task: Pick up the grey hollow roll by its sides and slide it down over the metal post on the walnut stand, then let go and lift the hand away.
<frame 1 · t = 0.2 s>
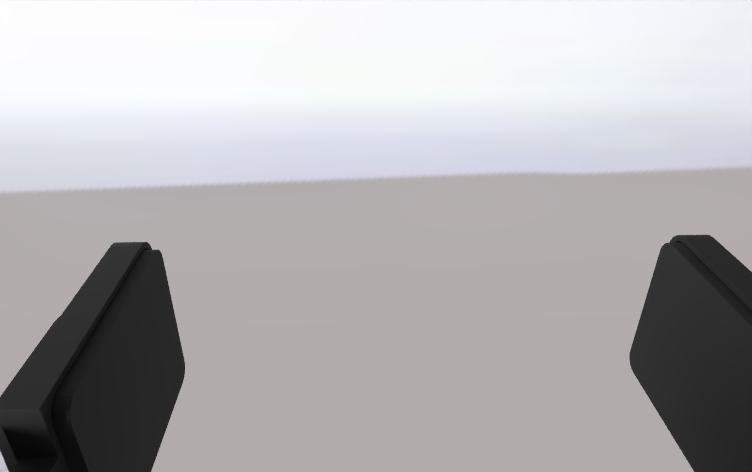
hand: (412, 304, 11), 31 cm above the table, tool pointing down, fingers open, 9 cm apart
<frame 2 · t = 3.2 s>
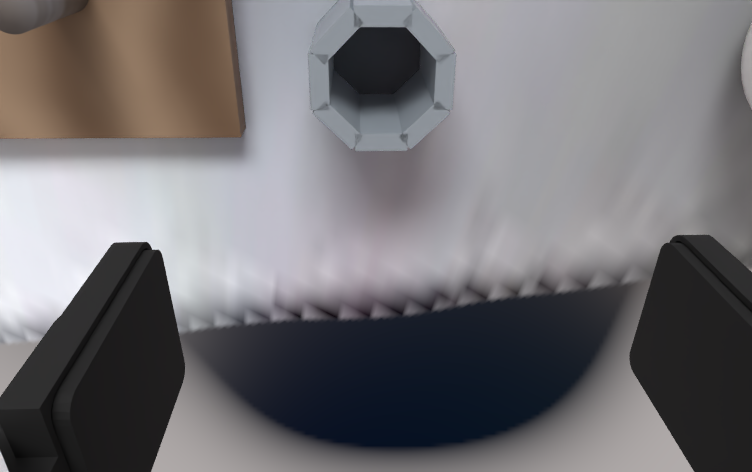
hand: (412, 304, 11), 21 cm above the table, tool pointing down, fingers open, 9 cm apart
roll: (376, 50, 29), on the table
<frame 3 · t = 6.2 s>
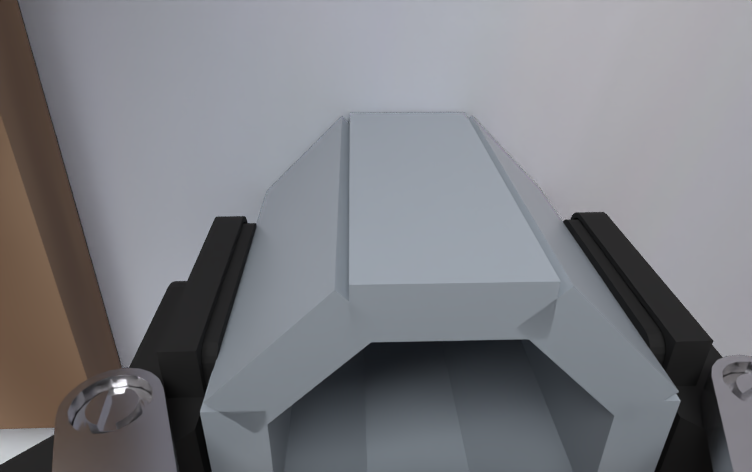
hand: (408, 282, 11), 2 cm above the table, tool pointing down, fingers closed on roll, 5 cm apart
roll: (402, 242, 13), on the table, touching gripper
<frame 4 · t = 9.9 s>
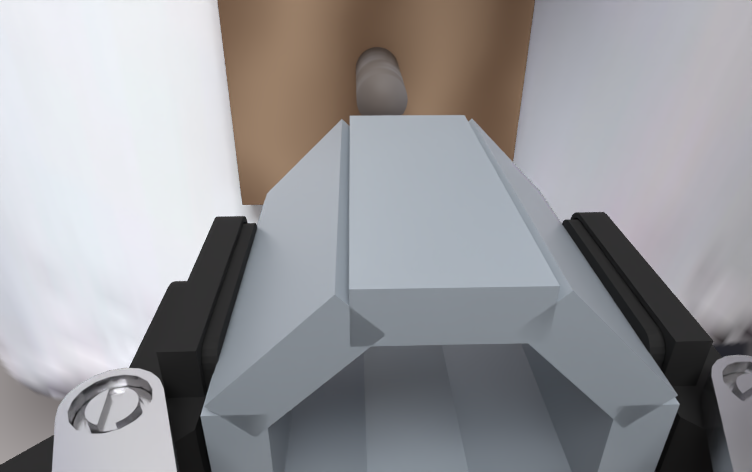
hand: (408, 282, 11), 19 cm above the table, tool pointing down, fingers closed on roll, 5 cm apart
roll stand: (375, 61, 28), on the table
roll: (402, 244, 13), point 17 cm above the table, touching gripper
when the fingers open (4 cm above the table, at t = 13.4 s): roll stays where it is, resting on roll stand.
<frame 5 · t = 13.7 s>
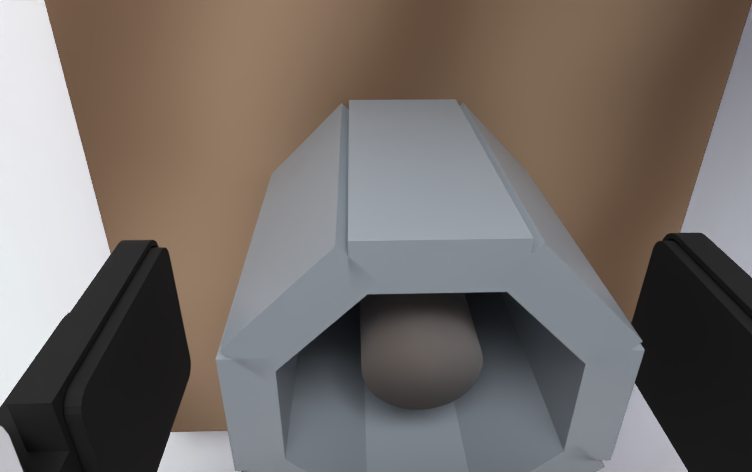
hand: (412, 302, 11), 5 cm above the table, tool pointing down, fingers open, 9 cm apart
roll stand: (395, 194, 15), on the table
roll: (399, 222, 14), point 1 cm above the table, touching roll stand
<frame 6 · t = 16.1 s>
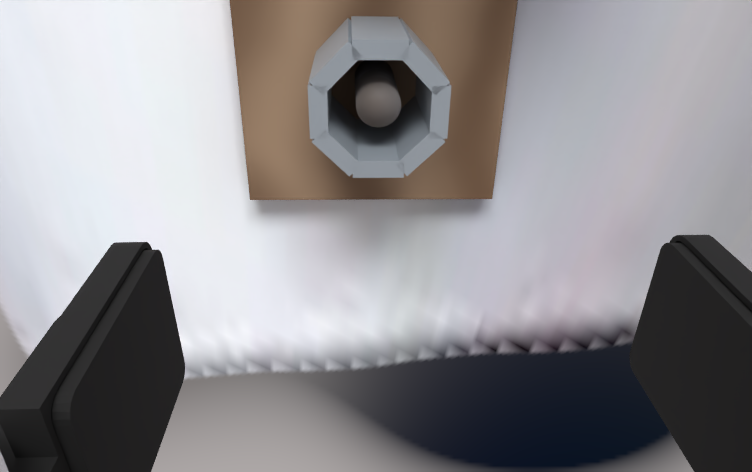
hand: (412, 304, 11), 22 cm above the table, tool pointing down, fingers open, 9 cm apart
roll stand: (372, 70, 31), on the table
roll: (373, 77, 29), point 1 cm above the table, touching roll stand
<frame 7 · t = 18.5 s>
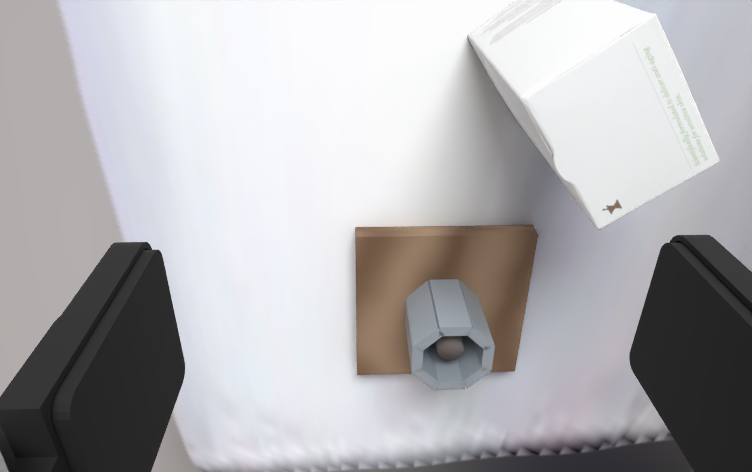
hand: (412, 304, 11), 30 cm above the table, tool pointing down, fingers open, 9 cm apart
roll stand: (439, 298, 48), on the table
roll: (441, 309, 47), point 1 cm above the table, touching roll stand
skincare box: (530, 56, 39), on the table
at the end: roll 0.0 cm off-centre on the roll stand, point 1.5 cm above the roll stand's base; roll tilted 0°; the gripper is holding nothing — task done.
